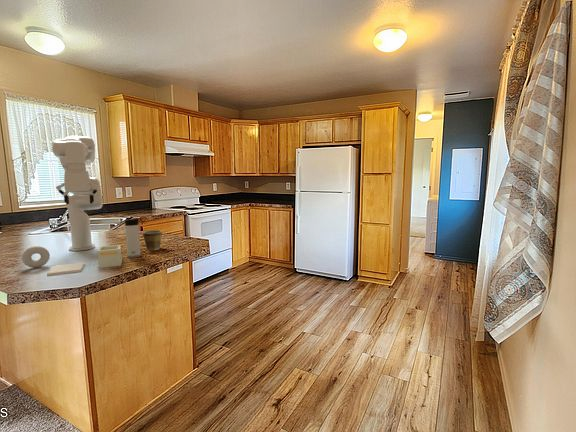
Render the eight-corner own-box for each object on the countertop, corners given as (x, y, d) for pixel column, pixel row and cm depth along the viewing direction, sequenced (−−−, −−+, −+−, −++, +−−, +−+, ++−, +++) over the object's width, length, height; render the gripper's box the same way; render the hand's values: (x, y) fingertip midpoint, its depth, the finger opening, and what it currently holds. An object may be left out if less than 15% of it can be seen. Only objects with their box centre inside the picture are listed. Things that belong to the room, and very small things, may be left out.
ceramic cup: (166, 248, 178) (165, 231, 177) (151, 252, 170) (149, 234, 168) (152, 245, 185) (151, 229, 183) (137, 249, 176) (136, 231, 175)
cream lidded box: (100, 263, 149) (99, 246, 148) (121, 260, 153) (120, 244, 152) (98, 268, 141) (97, 251, 139) (121, 265, 144) (119, 249, 143)
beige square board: (53, 267, 141) (53, 265, 141) (84, 264, 146) (84, 262, 146) (47, 275, 131) (46, 273, 130) (80, 271, 136) (80, 269, 136)
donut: (23, 270, 137) (20, 248, 136) (22, 268, 140) (20, 247, 138) (51, 266, 144) (49, 245, 142) (50, 264, 146) (48, 243, 145)
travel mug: (135, 258, 157) (133, 219, 154) (124, 257, 158) (121, 219, 156) (143, 255, 163) (141, 217, 160) (132, 254, 165) (130, 217, 162)
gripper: (52, 167, 140) (56, 205, 142) (96, 167, 147) (99, 203, 150) (56, 167, 146) (59, 203, 149) (98, 168, 154) (101, 202, 156)
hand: (79, 203), depth 149 cm, fingers open, 9 cm apart
